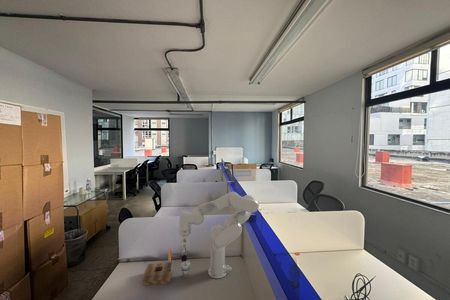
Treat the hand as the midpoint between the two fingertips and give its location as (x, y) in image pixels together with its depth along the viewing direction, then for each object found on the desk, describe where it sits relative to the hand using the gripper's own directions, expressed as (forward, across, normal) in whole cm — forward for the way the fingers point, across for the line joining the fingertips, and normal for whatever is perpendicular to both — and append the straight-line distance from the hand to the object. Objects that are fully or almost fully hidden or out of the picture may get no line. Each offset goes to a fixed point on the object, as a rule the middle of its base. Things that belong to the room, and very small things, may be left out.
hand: (184, 256), depth 136 cm
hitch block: (+14, 0, +16) cm, 21 cm away
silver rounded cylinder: (+13, 0, -1) cm, 13 cm away
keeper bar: (-1, 0, +10) cm, 10 cm away
